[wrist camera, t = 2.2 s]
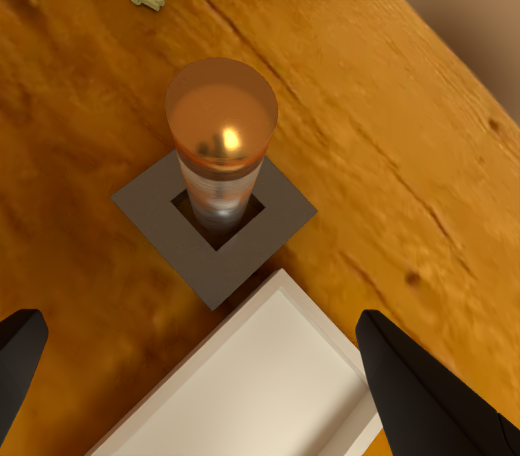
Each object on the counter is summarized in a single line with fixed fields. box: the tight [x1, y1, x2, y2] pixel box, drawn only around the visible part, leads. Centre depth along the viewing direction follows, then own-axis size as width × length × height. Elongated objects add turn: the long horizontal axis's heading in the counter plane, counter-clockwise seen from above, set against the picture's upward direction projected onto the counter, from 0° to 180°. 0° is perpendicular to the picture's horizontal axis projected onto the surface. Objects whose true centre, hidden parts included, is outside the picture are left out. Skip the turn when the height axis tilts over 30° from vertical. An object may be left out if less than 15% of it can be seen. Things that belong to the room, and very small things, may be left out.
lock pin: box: [165, 58, 278, 236], centre depth 16 cm, size 4×4×13 cm
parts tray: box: [84, 268, 383, 456], centre depth 18 cm, size 11×18×3 cm, turn 133°
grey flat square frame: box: [110, 149, 318, 312], centre depth 21 cm, size 10×10×2 cm
